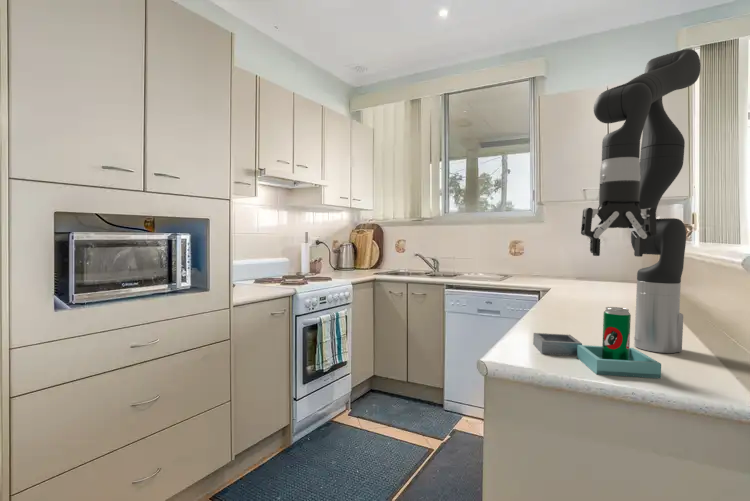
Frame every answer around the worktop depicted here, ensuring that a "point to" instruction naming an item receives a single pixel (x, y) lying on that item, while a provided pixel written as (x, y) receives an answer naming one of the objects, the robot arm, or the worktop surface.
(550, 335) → the grey square bin
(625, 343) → the soda can
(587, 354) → the tray
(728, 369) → the worktop surface
